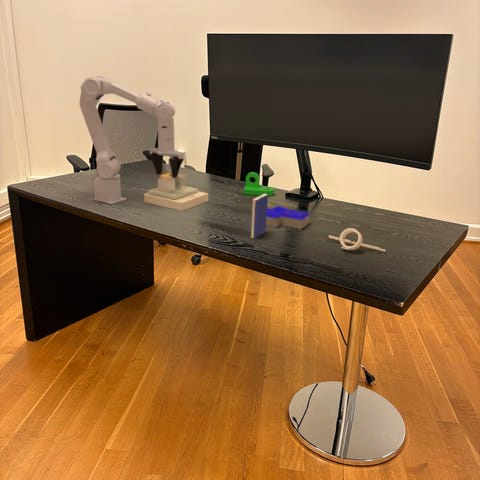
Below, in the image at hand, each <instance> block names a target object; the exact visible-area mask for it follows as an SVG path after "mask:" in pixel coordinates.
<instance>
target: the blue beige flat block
mask: <svg viewBox="0 0 480 480" xmlns="http://www.w3.org/2000/svg"><path fill="white" fill-rule="evenodd" d="M310 217H311V213H309V212H307V211H301V210H298V209H297V210H296V209H290V208H286V207H284V206H281V205H277V206H273V207H272V208H270V207H267V216H266V227H267V226H268V227H272V226H273V227H272V228H278V227H279V226H281V225H282V227H286V226H288V227H287V228H291V227H293V228H292V229H297V228H298V229H297V230H303V229H304V228H305V227H306V226H308V225H310V220H311V218H310ZM302 228H303V229H302Z"/></svg>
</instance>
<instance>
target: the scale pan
mask: <svg viewBox="0 0 480 480" xmlns="http://www.w3.org/2000/svg"><path fill="white" fill-rule="evenodd" d="M198 191H199V188H196V187H190V186H187V185H186V188H184V189H183V190H175V192H172V193H169V194H165V193H161V192H158V187H156V188H155V187H154V188H152V189H149V190H147V193H150V194H154V195H158V196H162V197H167V198H171V199H177V198H180V197H183V196H186V195H189V194H192V193H195V192H198Z"/></svg>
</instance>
